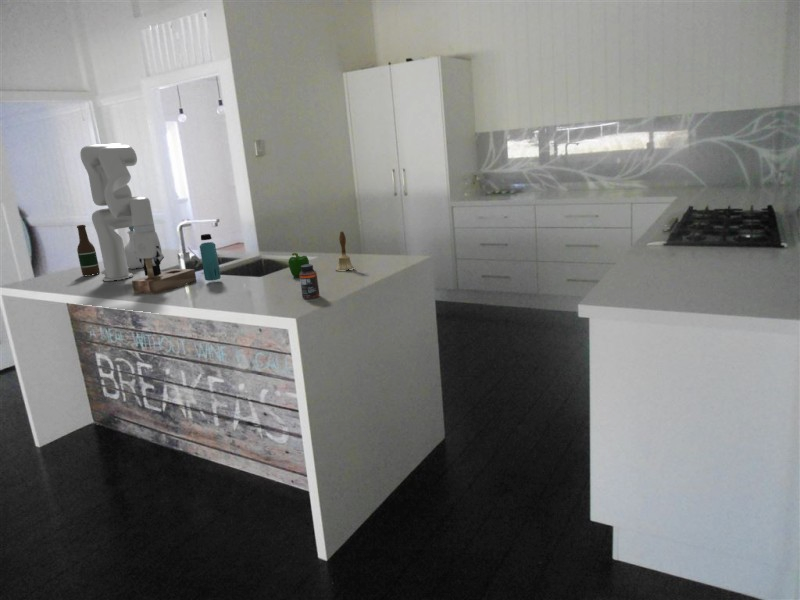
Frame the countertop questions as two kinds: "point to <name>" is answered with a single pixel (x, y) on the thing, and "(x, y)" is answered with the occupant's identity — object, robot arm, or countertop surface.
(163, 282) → the bore block
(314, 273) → the supplement bottle
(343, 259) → the hand bell
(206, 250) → the beverage bottle
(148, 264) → the pin
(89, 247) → the beer bottle
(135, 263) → the soap bottle
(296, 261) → the bell pepper
